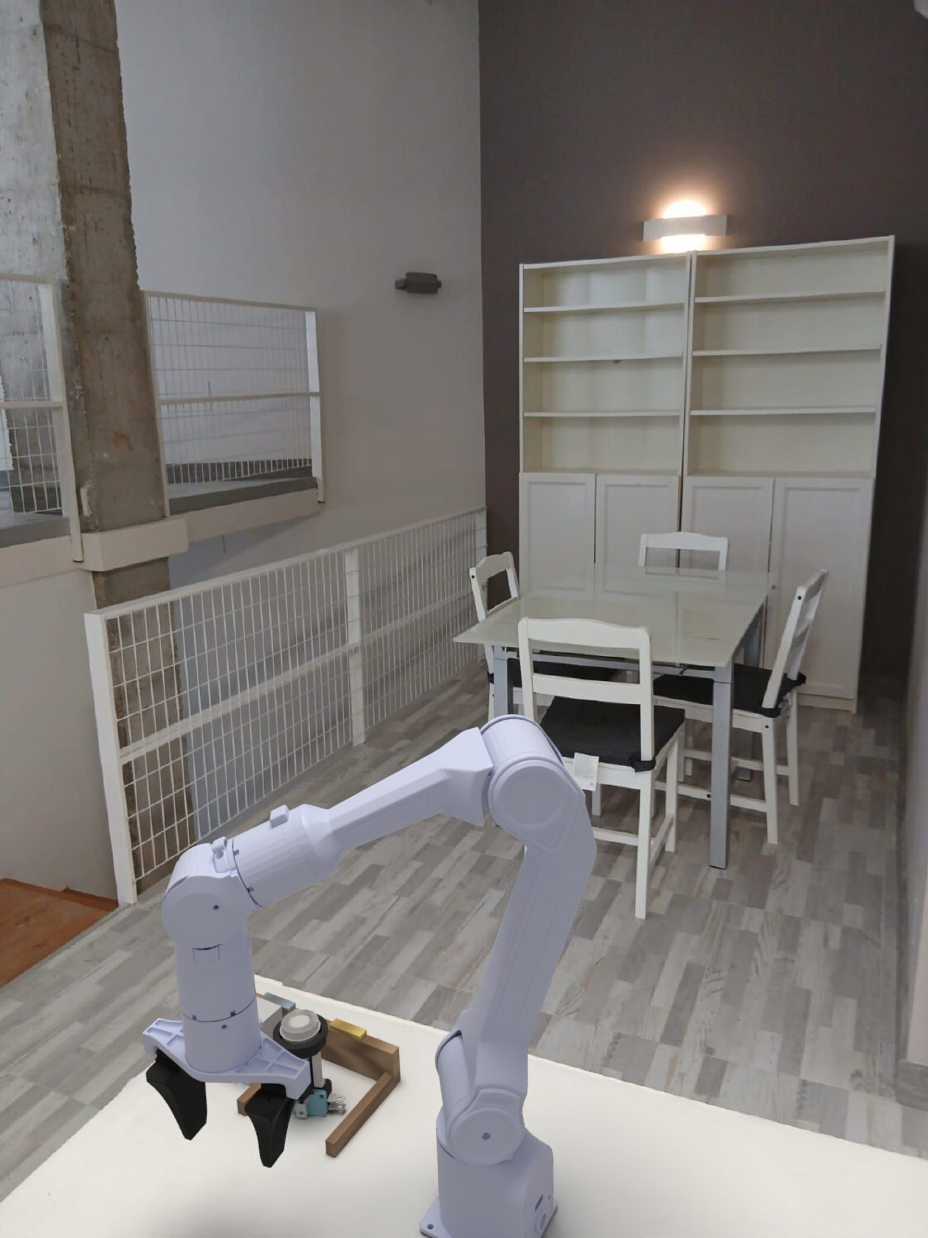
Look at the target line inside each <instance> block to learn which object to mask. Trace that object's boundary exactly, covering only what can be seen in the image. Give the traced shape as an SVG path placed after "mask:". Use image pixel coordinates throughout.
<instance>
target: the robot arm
mask: <svg viewBox="0 0 928 1238" xmlns="http://www.w3.org/2000/svg"><path fill="white" fill-rule="evenodd" d="M586 797H587V796H586V794H585V791H584V790H583V789H582V787H581V786H580V784H578V782H577V781H576V780H575V777H574V776H573V774H572V773H571V771H570V770H569V768H568V766H567V764H566V763H565V760H564V757H563V756H562V754H561V752H560V751H559V749H558V747H557V746H556V745H555V744H554V742H553V741H552V739H551V738H550V737H549V735H547V733H546V732H545V730H544V729H543V728H542V727H541V726H540V724H538V723H537V722H536V721H535V720H533V719H532V718H529V717H527V716H525V715H521V714H513V713H512V714H503V715H499V716H497V717H495V718H492V719H491V720H489V721H488V722H487V723H485V724H484V725H483V726H482V727H481V728H480V729H479V727H478V726H475V727H473V728H468V729H466V730H464V731H461V732H460V733H459V734H457V735H456V736H455V737H453V738H452V739H450V740H449V741H448V742H446V743H445V744H444V745H443V746H441V747H439V748H438V749H436V750H435V751H434V752H432V753H430V754H428V755H426V756H424V757H422V758H420V759H419V760H417V761H415V762H413V763H411V764H409V765H407V766H405V767H404V768H402V769H400V770H398V771H396V772H395V773H392V774H391V775H389V776H387V777H386V778H383V779H382V780H380V781H377V782H376V783H375V784H373V785H370V786H369V787H367V788H366V789H363V790H361V791H360V792H358V793H356V794H355V795H353V796H352V795H351V797H349V798H347V799H345V800H343V801H341V802H339V803H337V804H336V805H334V806H332V807H329V808H328V809H327V808H322V807H318V806H315V805H312V804H308V803H303V804H300V805H298V806H296V807H294V808H292V809H289V808H288V806H287V805H286V804H283V805H281V806H279V807H277V808H275V809H272V810H271V811H270V815H269V820H267V821H265V822H263V823H261V824H258V825H256V826H255V827H252V828H249V830H246V831H244V832H242V833H240V834H238V835H235V836H233V837H231V838H229V839H228V838H227V837H226V836H221V837H219V838H218V839H215V840H213V843H210V842H207V843H206V842H205V843H201V844H198V845H195V846H193V847H191V848H189V849H188V850H186V851H184V852H183V853H182V854H181V856H180V857H179V859H178V860H177V861H176V863H175V865H174V868H173V871H172V874H171V876H170V878H169V879H170V880H169V882H168V885H167V888H166V891H165V894H164V896H163V899H162V904H161V911H160V913H161V914H160V916H161V923H162V925H163V928H164V930H165V932H166V933H167V934H168V936H170V938H171V939H172V940H173V946H174V947H173V948H174V953H173V961H174V967H175V977H176V983H177V993H178V1000H179V1001H178V1002H179V1008H180V1009H179V1010H180V1017H181V1020H170V1019H165V1018H160V1017H158V1018H157V1019H156V1020H154V1022H153V1023H152V1024H150V1025H149V1026H148V1027H147V1028H146V1029H144V1031H142V1040H143V1048H144V1053H145V1054H148V1055H151V1056H155V1055H156V1057H155V1058H154V1062H153V1063H152V1065H151V1066H149V1067H148V1069H147V1070H146V1072H145V1080H146V1083H148V1084H149V1085H150V1087H151V1086H152V1088H154V1090H155V1091H156V1092H157V1093H158V1095H160V1096H161V1098H162V1099H163V1100H164V1102H165V1103H166V1105H167V1106H168V1108H169V1109H170V1111H171V1114H172V1115H173V1117H174V1120H175V1121H176V1123H177V1126H178V1128H179V1129H180V1132H181V1134H182V1136H183V1138H184V1139H185V1140H188V1141H190V1142H191V1141H192V1140H193V1139H194V1138H195V1137H196V1135H198V1134H199V1132H200V1131H201V1130H202V1129H203V1128H204V1126H206V1125H207V1121H208V1100H207V1099H208V1098H207V1087H206V1085H207V1084H206V1083H208V1084H209V1083H212V1084H219V1083H220V1084H222V1083H223V1084H243V1083H261V1088H260V1089H258V1091H257V1092H256V1093H255V1094H254V1095H253V1096H252V1098H251V1099H250V1100H249V1101H248V1102H247V1104H246V1105H245V1106H244V1111H245V1113H246V1114H247V1115H246V1116H248V1118H249V1120H250V1122H251V1124H252V1126H253V1128H254V1132H255V1135H256V1138H257V1145H258V1153H259V1159H260V1163H261V1164H262V1166H263V1167H265V1168H268V1169H271V1168H272V1167H274V1165H275V1163H277V1161H278V1159H279V1158H280V1157H281V1156H282V1154H283V1153H284V1152H285V1147H286V1146H285V1145H286V1141H287V1140H286V1139H287V1134H288V1129H289V1124H290V1121H291V1116H292V1115H293V1114H292V1111H293V1108H294V1105H295V1102H296V1100H297V1099H298V1098H299V1097H300V1096H301V1094H303V1092H304V1091H305V1090H306V1088H307V1087H308V1085H309V1084H310V1083H311V1077H310V1064H309V1061H306V1060H303V1059H300V1058H298V1057H296V1056H294V1055H293V1054H291V1053H290V1052H289V1051H287V1050H286V1049H285V1048H283V1047H282V1046H281V1045H279V1044H278V1043H277V1042H275V1041H274V1040H273V1039H271V1038H270V1037H269V1036H267V1035H266V1034H264V1033H263V1032H262V1031H260V1029H261V1028H262V1019H261V1018H260V1017H258V1007H257V996H256V992H257V990H256V989H257V987H256V978H255V970H254V969H255V967H254V959H253V949H252V948H253V947H252V940H251V936H250V933H249V931H248V921H247V919H248V917H250V916H252V915H254V914H255V913H256V912H259V911H260V910H263V909H264V908H267V907H269V906H271V905H273V904H275V903H277V902H279V901H281V900H284V899H285V898H287V897H290V896H292V895H293V894H296V893H299V891H300V892H301V891H302V890H304V889H306V888H308V887H310V886H313V885H315V884H317V883H319V882H322V881H323V880H325V879H328V878H330V877H331V876H334V875H335V874H336V873H337V871H338V869H339V865H340V862H341V860H342V859H343V856H344V854H345V853H346V852H347V851H350V850H353V849H355V848H357V847H360V846H362V845H366V844H367V843H369V842H372V841H373V842H374V841H375V840H376V839H377V840H378V839H379V838H383V837H384V836H387V835H390V834H392V833H395V832H397V831H399V830H401V829H402V830H403V829H404V828H406V827H409V826H412V825H414V824H417V823H419V822H421V821H424V820H427V819H430V818H431V817H434V816H437V815H439V814H445V815H447V816H451V817H453V818H455V819H458V820H460V821H463V822H466V823H469V824H471V825H474V826H477V827H482V828H483V827H485V818H484V813H483V812H490V815H491V817H492V818H493V820H494V821H495V822H496V824H498V826H499V827H500V828H501V829H502V830H504V831H505V832H507V833H508V834H509V835H511V836H512V837H514V838H515V839H517V840H518V841H519V842H521V843H523V844H524V846H525V847H526V851H525V853H524V857H523V859H522V862H521V865H520V868H519V871H518V874H517V877H516V879H515V882H514V884H513V885H514V886H513V888H512V891H511V894H510V897H509V900H508V903H507V906H506V909H505V912H504V915H503V918H502V920H501V923H500V926H499V929H498V932H497V935H496V938H495V940H494V944H493V947H492V949H491V952H490V955H489V958H488V961H487V964H486V966H485V970H484V973H483V975H482V978H481V981H480V983H479V986H478V990H477V992H476V996H475V998H474V1002H473V1005H472V1007H471V1008H467V1009H463V1010H461V1012H460V1014H459V1017H458V1019H457V1021H456V1024H455V1025H454V1027H453V1029H451V1031H450V1032H449V1033H448V1034H447V1035H445V1036H444V1038H443V1039H442V1040H441V1041H440V1042H439V1044H438V1046H437V1048H436V1051H435V1055H434V1066H435V1069H436V1070H435V1071H436V1073H437V1075H438V1078H439V1079H438V1080H439V1087H440V1094H441V1101H442V1106H441V1107H440V1109H439V1112H438V1114H437V1116H436V1121H435V1132H436V1133H435V1136H436V1159H437V1163H436V1164H437V1184H438V1188H437V1189H438V1195H437V1198H436V1199H435V1200H434V1202H433V1203H432V1204H431V1206H430V1207H429V1209H428V1211H427V1212H425V1213H426V1214H425V1215H424V1216H423V1218H422V1219H421V1221H420V1223H419V1230H420V1232H421V1233H423V1234H425V1235H426V1236H427V1235H428V1236H429V1237H431V1238H541V1237H542V1236H543V1233H544V1232H545V1230H546V1228H547V1227H548V1224H549V1223H550V1220H551V1219H552V1217H553V1215H554V1213H555V1211H556V1209H557V1208H558V1200H557V1199H555V1197H554V1195H555V1193H554V1188H555V1187H554V1185H555V1183H554V1151H553V1149H552V1147H551V1146H550V1145H548V1144H547V1143H546V1142H544V1141H543V1140H540V1139H539V1138H538V1137H536V1136H535V1135H534V1134H533V1133H532V1132H530V1131H529V1129H528V1128H527V1127H526V1124H525V1118H524V1114H523V1110H524V1105H525V1102H526V1098H527V1096H528V1089H529V1088H528V1087H529V1085H528V1084H529V1082H528V1081H529V1044H530V1041H531V1038H532V1036H533V1034H534V1030H535V1028H536V1025H537V1022H538V1019H539V1018H540V1014H541V1011H542V1009H543V1006H544V1004H545V1003H544V1002H545V1000H546V997H547V995H548V992H549V989H550V986H551V983H552V981H553V978H554V976H555V973H556V969H557V966H558V964H559V961H560V959H561V956H562V953H563V950H564V947H565V945H566V943H567V942H566V941H567V939H568V937H569V933H570V932H571V931H570V930H571V928H572V925H573V923H574V920H575V917H576V914H577V912H578V908H579V905H580V903H581V900H582V897H583V895H584V891H585V889H586V886H587V884H588V881H589V878H590V875H591V873H592V869H593V867H594V864H595V861H596V859H597V854H598V853H597V852H598V846H597V842H596V841H597V840H596V838H595V834H594V831H593V825H592V823H591V819H590V815H589V813H588V809H587V808H588V807H587V805H586Z"/></svg>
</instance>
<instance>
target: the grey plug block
mask: <svg viewBox="0 0 928 1238" xmlns="http://www.w3.org/2000/svg"><path fill="white" fill-rule="evenodd" d="M257 1007H258V1017H260V1018H261V1019H262V1028H261V1029H260V1031H262V1032H263V1033H264V1034H266V1035H267V1036H269V1037H270V1038H271V1039H273V1030H274V1028H275V1026H276V1025H277V1024H278V1022H280V1021H281V1020H282V1019H283V1017H282V1006H280V1005H277V1004H275V1003H272V1002H270V1001H267V1000H264V999H262V998H259V997H257ZM282 1041H283V1040H282ZM242 1084H243V1085H245V1086H247V1087H248V1088H249V1087H250V1086H251V1085H252V1084H253V1083H242Z"/></svg>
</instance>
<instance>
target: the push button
mask: <svg viewBox="0 0 928 1238" xmlns="http://www.w3.org/2000/svg"><path fill="white" fill-rule="evenodd" d="M324 1018H325V1017H323V1016H322V1015H321V1014H319V1013H316V1012H315V1011H313V1010H310V1009H306V1008H305V1009H301V1010H296V1011H293V1012H290V1013H288V1014H287V1015H286V1016H285V1017H284V1018H283V1019H282V1020H281V1021H280V1022H278V1024H277V1025H276V1026H275V1028H274V1030H273V1040H274V1041H275V1042H277V1043H278V1044H279V1045H281V1046H282V1047H283V1048H285V1049H286V1050H287V1051H289V1052H290V1053H291V1054H293V1055H294V1056H296V1057H298V1058H300V1059H303V1060H306V1061H309V1064H310V1077H311V1083H310V1084H309V1085H308V1087H307V1088H306V1090H305V1091H304V1092H303V1094H301V1096H300V1097H299V1098H298V1099H297V1100H296V1102H295V1105H294V1108H293V1111H292V1113H293V1114H296V1117H297V1118H299V1119H300V1118H301V1119H306V1118H308V1116H315V1117H326V1116H327V1113H328V1111H334V1110H338V1111H344V1110H345V1109H346V1106H347V1104H346V1103H344V1102H345V1099H346V1096H345V1095H339V1094H336V1093H334V1092H333V1084H332V1080H331V1079H330V1078H325V1077H323V1067H322V1058H321V1051H320V1050H321V1049H322V1048H323V1047H324V1045H325V1044H326V1036H327V1034H328V1023H327V1021H326V1020H325V1019H326V1018H325V1019H324ZM319 1033H320V1034H319ZM282 1040H283V1041H282ZM339 1098H340V1099H339ZM340 1106H341V1107H340Z"/></svg>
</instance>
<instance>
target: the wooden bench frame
mask: <svg viewBox="0 0 928 1238" xmlns="http://www.w3.org/2000/svg"><path fill="white" fill-rule="evenodd" d="M256 996H257V997H259V998H262V999H264V1000H267V1001H270V1002H272V1003H275V1004H277V1005H280V1006H282V1017H283V1018H284V1017H285V1016H286V1015H287V1014H288V1013H290V1012H293V1011H296V1010H302V1008H299V1007H297V1005H296V1004H297V1003H296V1002H294V1001H292V1000H289V999H287V998H284V997H281V996H279V995H276V994H273V993H270V992H268V991H267V992H266V993H264V994H262V993H259V992H257V991H256ZM323 1018H324V1019H325V1020H326V1021H327V1023H328V1034H327V1036H326V1044H325V1045H324V1047H323V1048H322V1049H321V1050H320V1051H321V1059H323V1060H326V1061H328V1062H331V1063H333V1064H336V1065H338V1066H340V1067H342V1068H345V1069H347V1070H351V1071H353V1072H356V1073H357V1074H360V1075H363V1076H365V1077H367V1078H369V1079H373V1080H375V1081H376V1082H375V1083H374V1084H373V1085H372V1086H371V1088H370V1089H369V1090H368V1091H367V1092H366V1093H365V1094H364V1096H363V1097H362V1098H361V1099H360V1100H359V1101H358V1102H357V1104H355V1106H354V1107H353V1108H352V1109H351V1110H350V1112H349V1113H348V1114H347V1115H346V1116H345V1117H344V1118H343V1120H342V1121H340V1123H339V1124H338V1125H337V1126H336V1127H335V1128H334V1130H333V1131H332V1132H331V1133H330V1134H329V1135H328V1136H327V1137H326V1138H325V1140H324V1142H325V1154H326V1155H328V1156H330V1157H333V1158H336V1157H337V1156H338V1155H339V1153H340V1152H341V1151H342V1150H343V1149H344V1148H345V1147H346V1145H347V1144H348V1143H349V1142H350V1141H351V1140H352V1138H353V1137H354V1136H355V1134H356V1133H357V1132H359V1130H360V1129H361V1128H362V1127H363V1125H364V1124H365V1123H366V1122H367V1120H369V1118H370V1117H371V1115H373V1113H374V1112H375V1111H376V1110H377V1109H378V1108H379V1106H380V1105H381V1104H382V1103H383V1102H384V1100H385V1099H386V1098H387V1097H388V1096H389V1094H391V1092H392V1091H393V1090H394V1088H396V1086H398V1084H399V1083H400V1082H401V1079H402V1078H401V1059H400V1046H399V1045H395V1044H392V1043H390V1042H387V1041H385V1040H382V1039H381V1038H376V1037H374V1036H372V1035H369V1034H368V1031H367V1029H366V1028H363V1027H361V1026H358V1025H355V1024H353V1023H350V1022H347V1021H345V1020H343V1019H339V1018H338V1017H337V1018H336V1017H335V1018H334V1019H333V1020H330V1019H327V1018H325V1017H323ZM319 1034H320V1033H319ZM260 1088H261V1083H253V1084H252V1085H251V1086H250V1087H249V1086H248V1088H247V1089H246V1090H245V1091H244V1092H242V1094H241V1095H240V1096H239V1097H238V1098H237V1099H236V1106H237V1107H236V1109H237V1113H239V1114H241V1115H243V1116H248V1115H247V1114H246V1113H245V1111H244V1106H245V1105H246V1104H247V1102H248V1101H249V1100H250V1099H251V1098H252V1096H253V1095H254V1094H255V1093H256V1092H257V1091H258V1089H260Z"/></svg>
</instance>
